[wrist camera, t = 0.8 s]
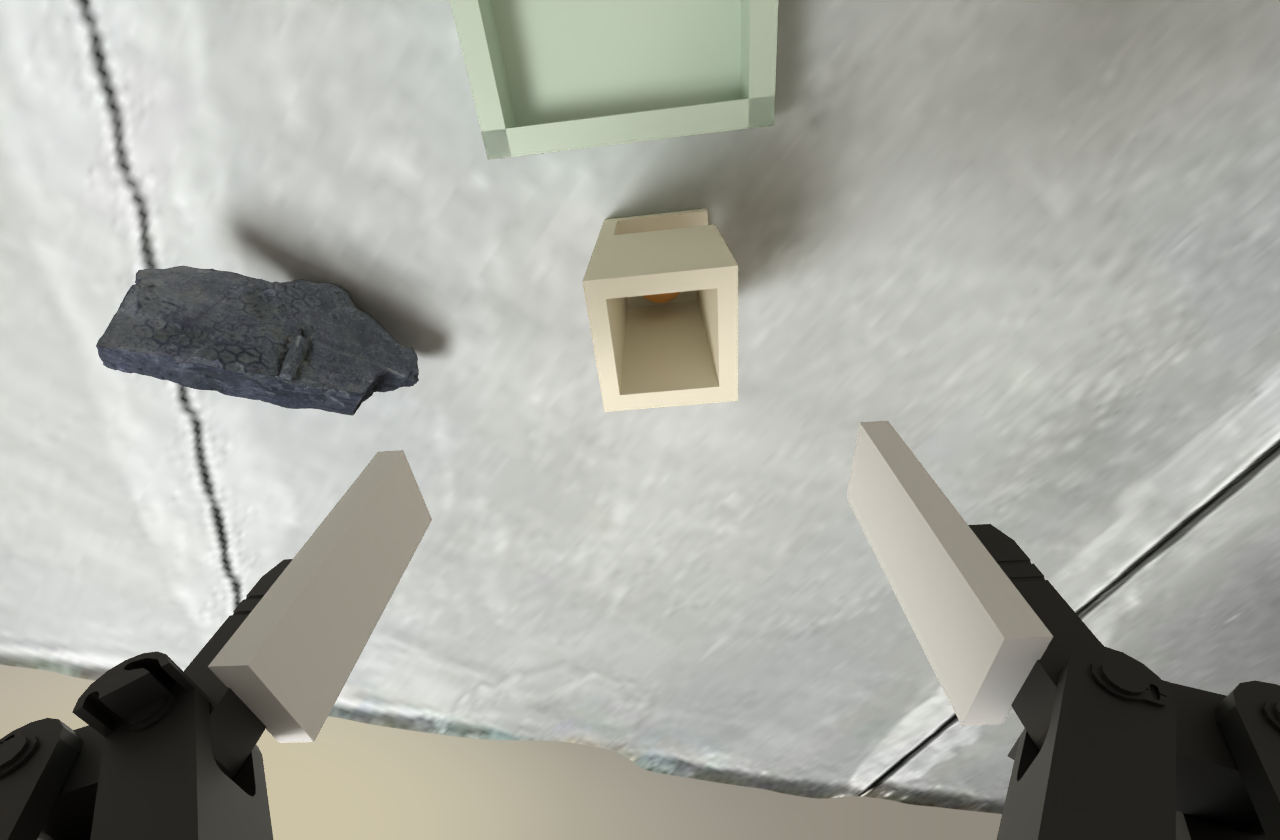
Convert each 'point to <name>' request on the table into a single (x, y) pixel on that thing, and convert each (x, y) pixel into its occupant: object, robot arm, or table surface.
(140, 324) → the stone
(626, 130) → the tray
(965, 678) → the robot arm
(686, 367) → the hollow box
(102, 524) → the table surface
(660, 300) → the ball
